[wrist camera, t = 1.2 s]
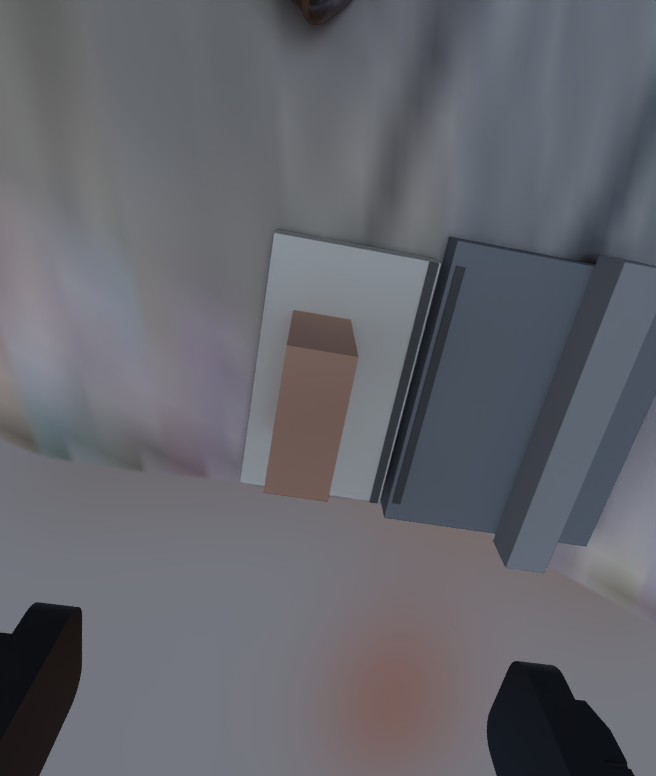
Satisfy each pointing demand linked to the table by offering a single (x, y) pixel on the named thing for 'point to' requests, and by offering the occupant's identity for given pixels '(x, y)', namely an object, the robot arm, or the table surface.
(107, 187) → the table surface
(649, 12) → the table surface
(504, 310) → the grey plate with ridge
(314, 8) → the tin
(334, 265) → the white plate with block
